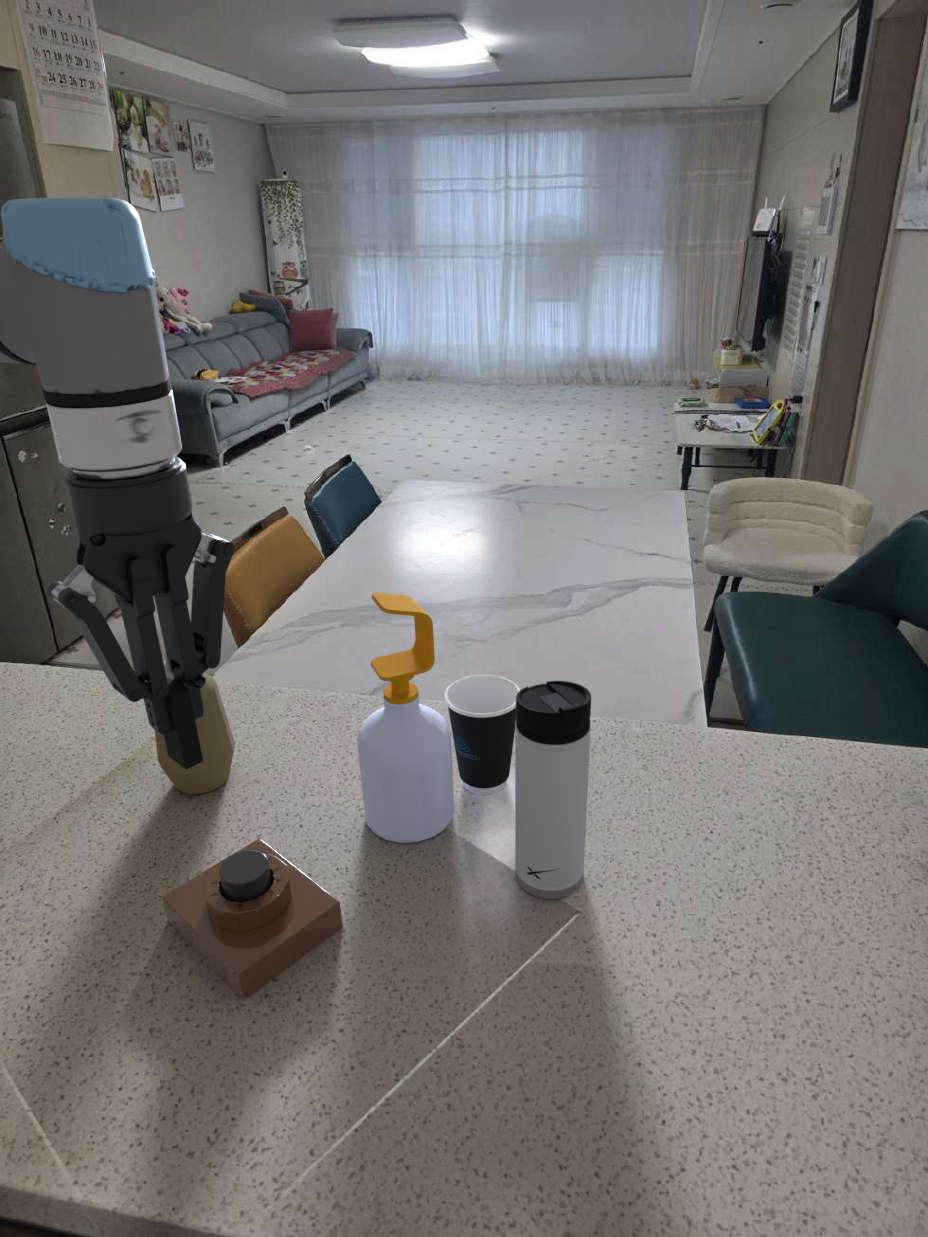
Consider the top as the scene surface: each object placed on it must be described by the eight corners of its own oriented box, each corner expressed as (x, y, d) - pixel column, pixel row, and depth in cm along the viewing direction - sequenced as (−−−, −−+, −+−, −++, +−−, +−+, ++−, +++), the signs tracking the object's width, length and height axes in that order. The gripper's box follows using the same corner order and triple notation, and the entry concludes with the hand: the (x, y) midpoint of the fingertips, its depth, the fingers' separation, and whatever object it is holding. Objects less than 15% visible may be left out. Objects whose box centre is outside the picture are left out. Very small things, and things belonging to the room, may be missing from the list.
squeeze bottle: (183, 813, 85) (149, 661, 77) (152, 778, 91) (117, 633, 83) (253, 779, 90) (228, 634, 82) (219, 748, 96) (193, 609, 88)
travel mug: (537, 912, 72) (539, 720, 63) (503, 864, 77) (502, 680, 69) (598, 890, 74) (609, 700, 65) (561, 844, 80) (567, 664, 71)
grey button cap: (213, 886, 70) (209, 868, 69) (254, 861, 72) (250, 843, 71) (240, 910, 67) (236, 891, 66) (280, 883, 70) (277, 865, 69)
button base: (167, 922, 72) (156, 879, 70) (263, 862, 79) (256, 820, 76) (244, 1001, 65) (234, 955, 62) (343, 927, 71) (338, 883, 69)
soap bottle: (354, 801, 86) (330, 588, 75) (435, 778, 89) (423, 570, 79) (380, 856, 79) (359, 627, 68) (468, 829, 82) (460, 606, 71)
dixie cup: (525, 762, 92) (526, 677, 87) (516, 808, 85) (516, 717, 80) (455, 756, 93) (452, 671, 88) (440, 800, 86) (436, 711, 81)
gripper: (46, 498, 47) (129, 821, 58) (242, 451, 56) (283, 740, 66) (-3, 474, 52) (82, 777, 62) (184, 434, 60) (231, 707, 71)
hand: (185, 758), depth 64 cm, fingers closed
